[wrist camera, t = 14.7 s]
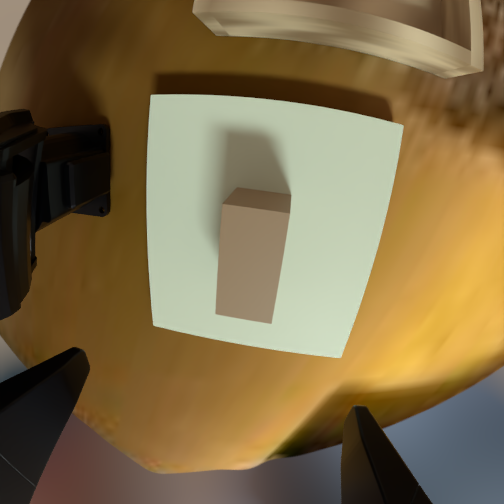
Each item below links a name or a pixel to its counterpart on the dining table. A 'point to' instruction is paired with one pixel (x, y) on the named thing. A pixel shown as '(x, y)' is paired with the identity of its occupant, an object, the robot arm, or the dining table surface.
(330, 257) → the lid
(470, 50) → the beige rectangular tray
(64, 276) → the dining table surface
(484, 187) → the dining table surface
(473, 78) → the dining table surface
